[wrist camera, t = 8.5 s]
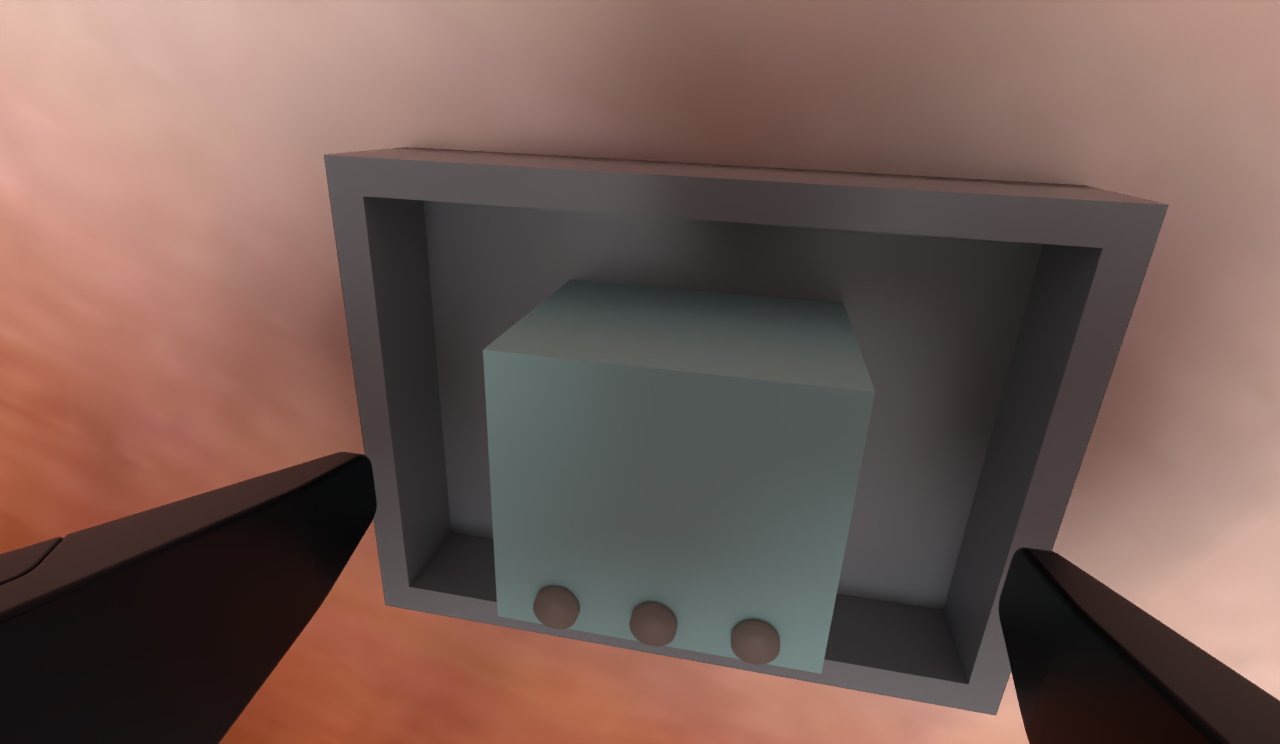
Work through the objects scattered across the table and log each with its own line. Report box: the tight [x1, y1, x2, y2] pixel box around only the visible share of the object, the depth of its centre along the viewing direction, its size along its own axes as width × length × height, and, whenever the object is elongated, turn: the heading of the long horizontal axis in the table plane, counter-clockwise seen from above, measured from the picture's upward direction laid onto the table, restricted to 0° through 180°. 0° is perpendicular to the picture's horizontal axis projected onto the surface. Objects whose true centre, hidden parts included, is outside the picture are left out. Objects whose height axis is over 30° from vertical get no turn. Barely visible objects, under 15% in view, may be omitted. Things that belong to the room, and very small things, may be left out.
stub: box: [483, 280, 875, 674], centre depth 11 cm, size 5×4×4 cm
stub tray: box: [324, 147, 1168, 715], centre depth 12 cm, size 12×9×2 cm
